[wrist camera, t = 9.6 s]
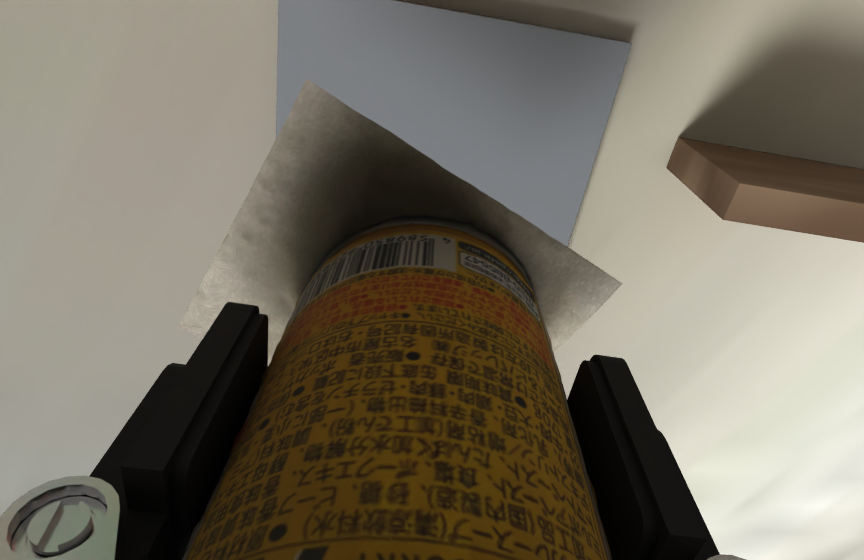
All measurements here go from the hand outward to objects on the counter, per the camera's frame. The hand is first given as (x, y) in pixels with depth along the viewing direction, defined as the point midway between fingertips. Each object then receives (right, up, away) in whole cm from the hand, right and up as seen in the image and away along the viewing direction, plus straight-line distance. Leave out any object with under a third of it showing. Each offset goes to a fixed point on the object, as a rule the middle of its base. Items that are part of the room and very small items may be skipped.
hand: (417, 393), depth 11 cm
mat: (0, +6, +11) cm, 13 cm away
